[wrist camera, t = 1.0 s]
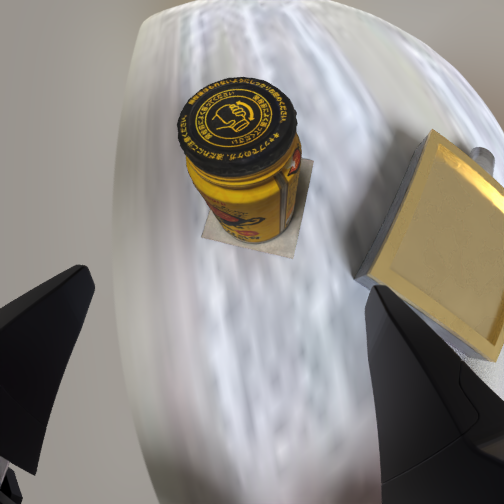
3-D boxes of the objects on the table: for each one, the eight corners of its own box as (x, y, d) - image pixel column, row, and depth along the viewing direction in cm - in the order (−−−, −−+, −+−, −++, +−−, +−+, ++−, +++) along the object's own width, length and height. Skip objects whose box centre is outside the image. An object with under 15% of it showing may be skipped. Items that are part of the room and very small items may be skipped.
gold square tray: (469, 357, 19) (495, 362, 15) (353, 279, 21) (370, 273, 17) (515, 202, 21) (536, 190, 17) (424, 125, 23) (440, 103, 19)
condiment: (201, 238, 23) (133, 171, 11) (230, 146, 24) (200, 41, 12) (292, 259, 22) (312, 204, 10) (313, 162, 23) (336, 56, 11)
